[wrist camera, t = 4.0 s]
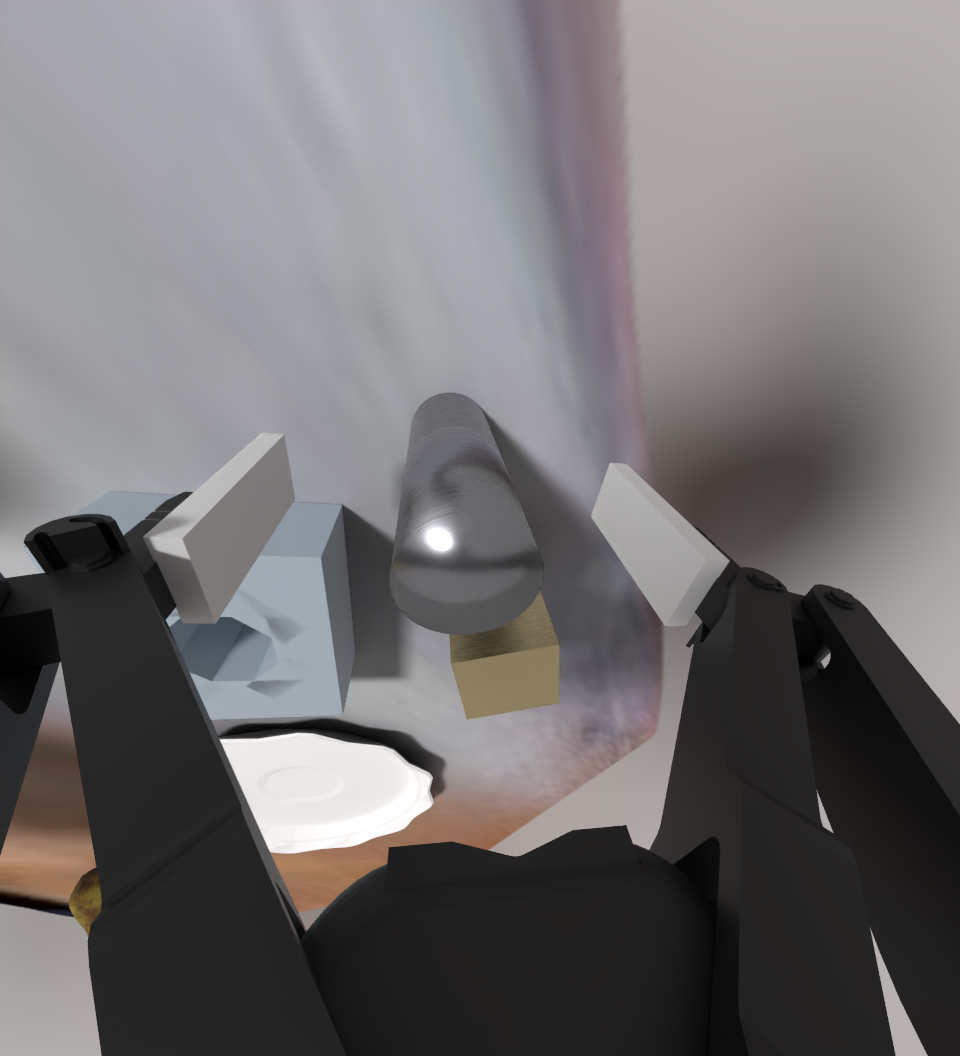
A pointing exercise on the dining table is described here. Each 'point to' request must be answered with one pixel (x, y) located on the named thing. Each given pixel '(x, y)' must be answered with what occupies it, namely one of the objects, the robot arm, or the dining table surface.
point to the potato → (86, 899)
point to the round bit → (460, 526)
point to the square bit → (508, 665)
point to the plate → (325, 787)
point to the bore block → (269, 619)
